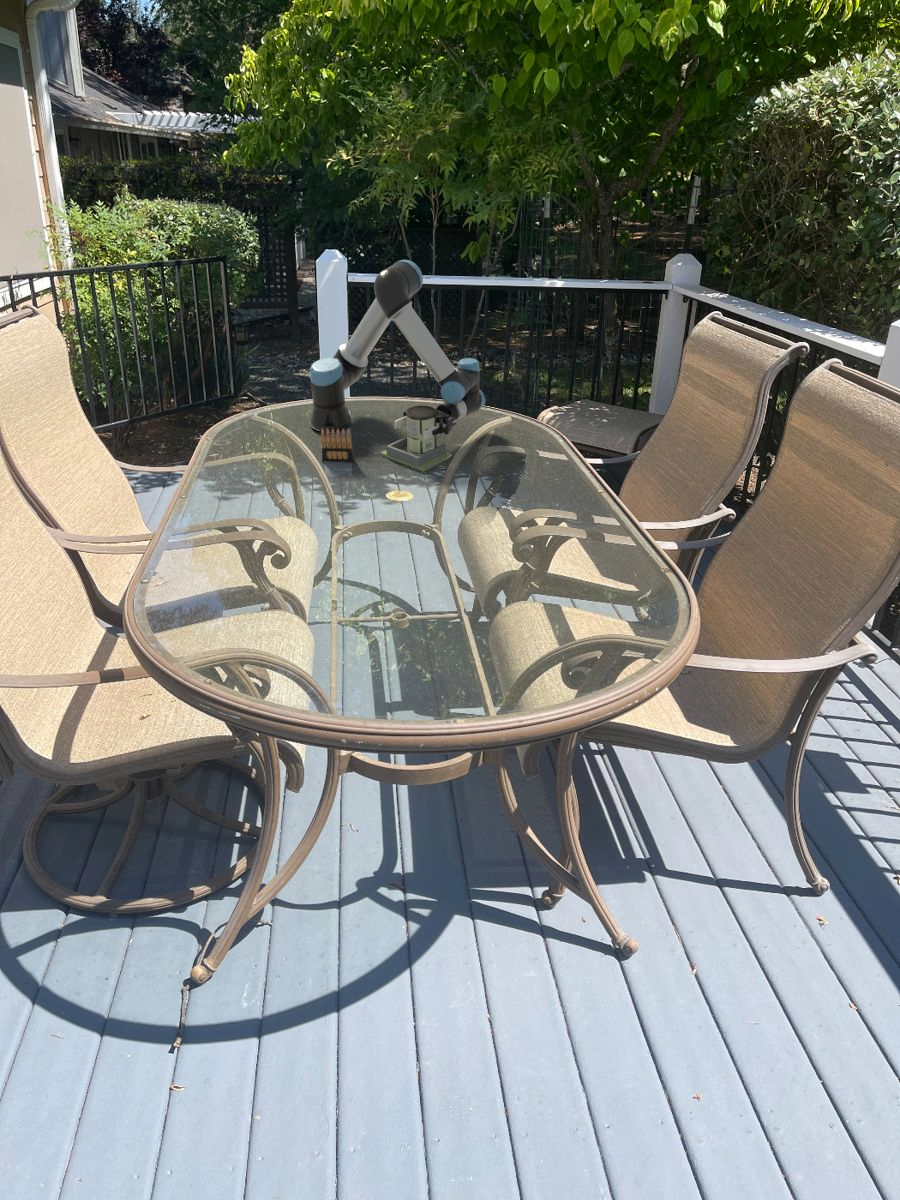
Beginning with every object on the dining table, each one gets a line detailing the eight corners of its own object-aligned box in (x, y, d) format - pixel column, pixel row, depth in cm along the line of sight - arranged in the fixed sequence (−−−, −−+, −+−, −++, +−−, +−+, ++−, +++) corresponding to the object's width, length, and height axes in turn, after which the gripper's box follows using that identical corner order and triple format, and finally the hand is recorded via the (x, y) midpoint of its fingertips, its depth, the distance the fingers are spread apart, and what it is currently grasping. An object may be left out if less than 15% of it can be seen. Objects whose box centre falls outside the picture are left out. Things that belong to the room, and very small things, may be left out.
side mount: (380, 455, 305) (379, 444, 303) (410, 441, 314) (409, 430, 312) (423, 471, 294) (422, 460, 292) (452, 456, 304) (452, 446, 301)
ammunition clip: (322, 461, 301) (319, 429, 294) (323, 459, 303) (320, 426, 296) (353, 462, 301) (350, 429, 294) (354, 460, 302) (351, 427, 295)
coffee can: (417, 441, 309) (417, 402, 301) (442, 447, 305) (442, 409, 297) (401, 451, 302) (399, 412, 294) (425, 458, 297) (425, 419, 289)
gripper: (478, 430, 305) (437, 450, 292) (424, 412, 319) (383, 430, 306) (478, 410, 301) (437, 429, 288) (424, 392, 314) (382, 410, 301)
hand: (409, 430), depth 297 cm, fingers open, 13 cm apart
